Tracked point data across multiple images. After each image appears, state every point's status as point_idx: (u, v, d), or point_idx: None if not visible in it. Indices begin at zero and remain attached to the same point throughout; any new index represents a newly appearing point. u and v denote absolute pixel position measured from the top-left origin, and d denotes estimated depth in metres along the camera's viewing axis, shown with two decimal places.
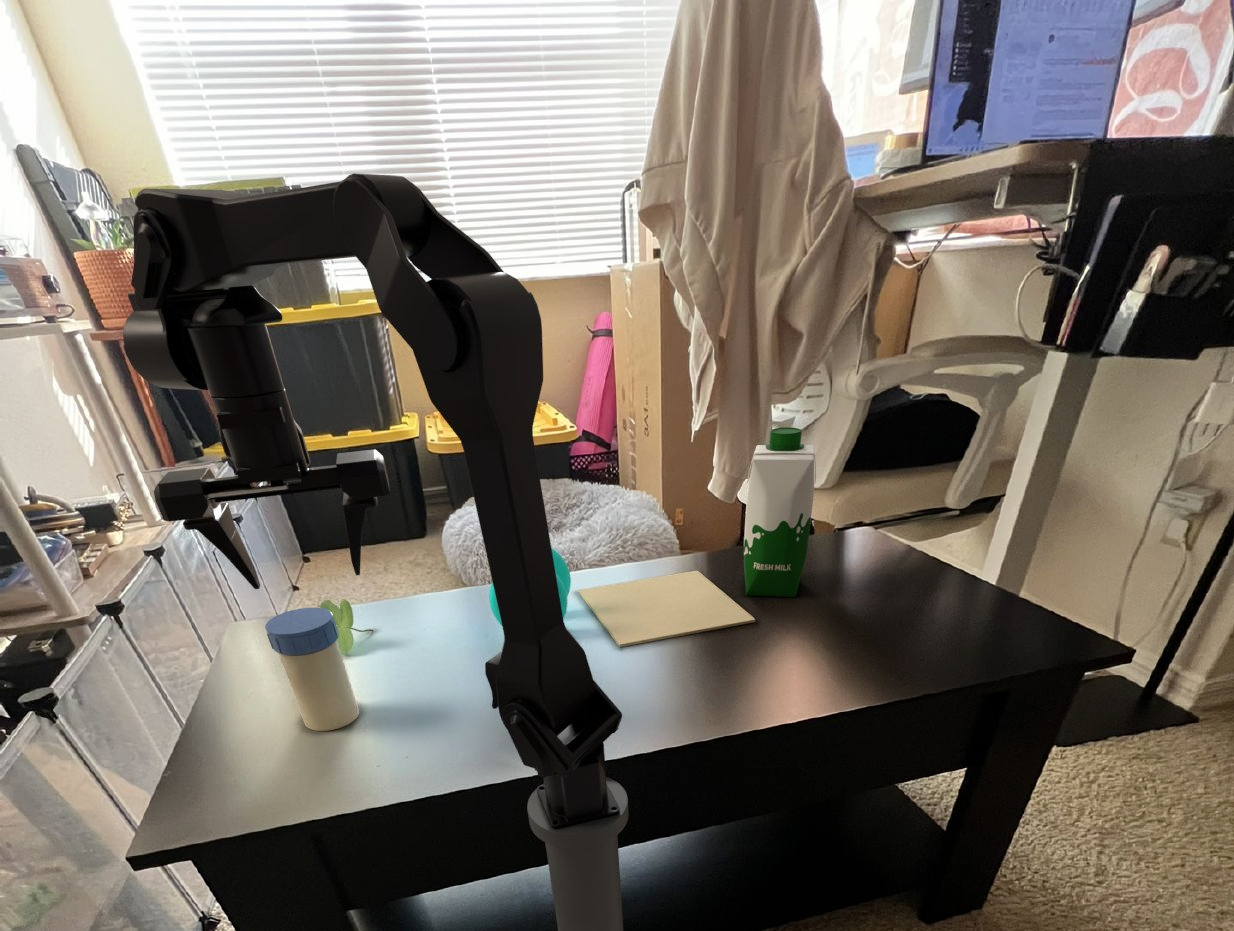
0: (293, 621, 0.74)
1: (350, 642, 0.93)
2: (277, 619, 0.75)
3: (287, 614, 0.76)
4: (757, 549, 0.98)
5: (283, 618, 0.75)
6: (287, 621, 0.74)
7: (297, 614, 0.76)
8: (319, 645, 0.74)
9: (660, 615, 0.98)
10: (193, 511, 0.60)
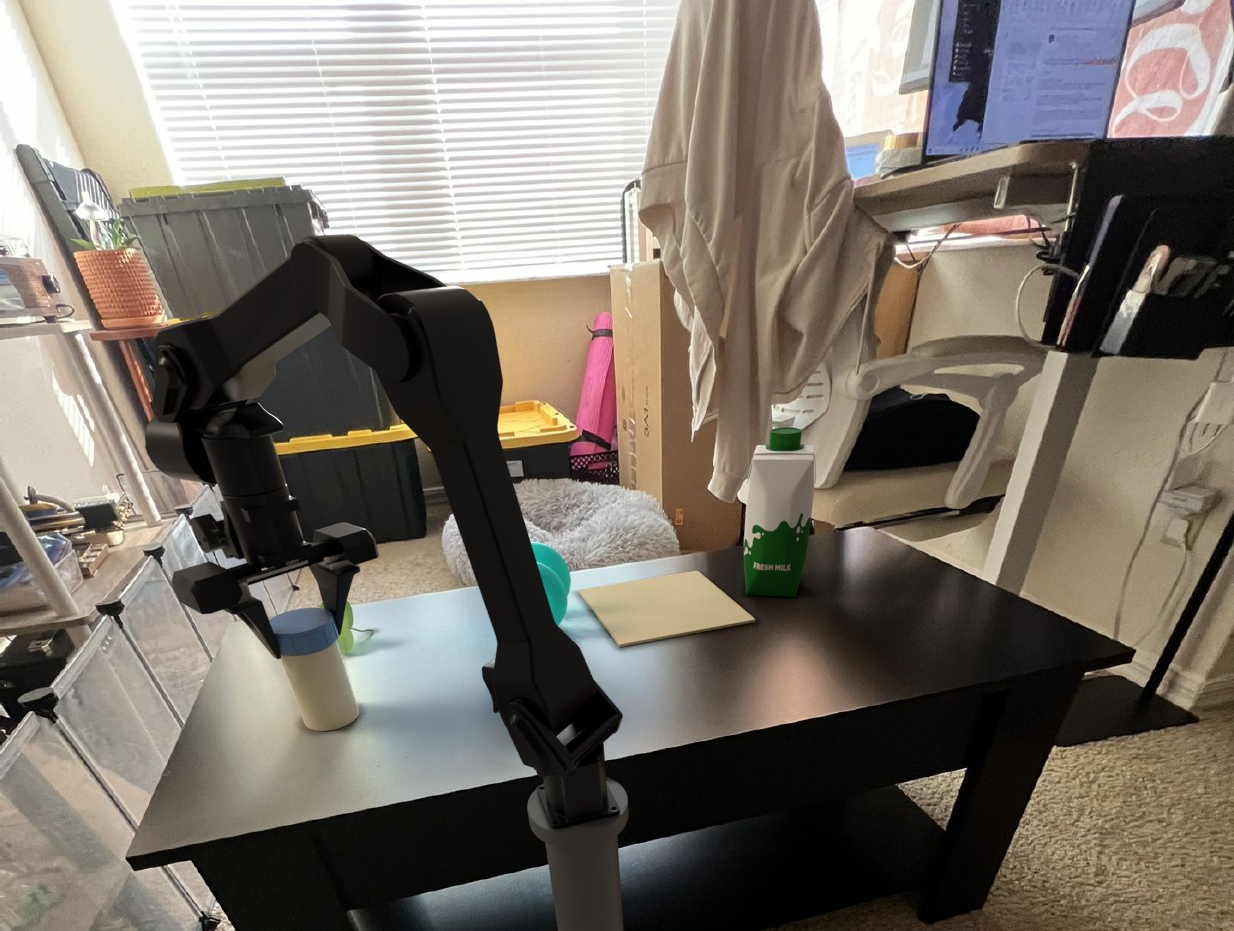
0: (293, 621, 0.74)
1: (350, 642, 0.93)
2: (277, 619, 0.75)
3: (287, 614, 0.76)
4: (757, 549, 0.98)
5: (283, 618, 0.75)
6: (287, 621, 0.74)
7: (297, 614, 0.76)
8: (319, 645, 0.74)
9: (660, 615, 0.98)
10: (230, 600, 0.66)
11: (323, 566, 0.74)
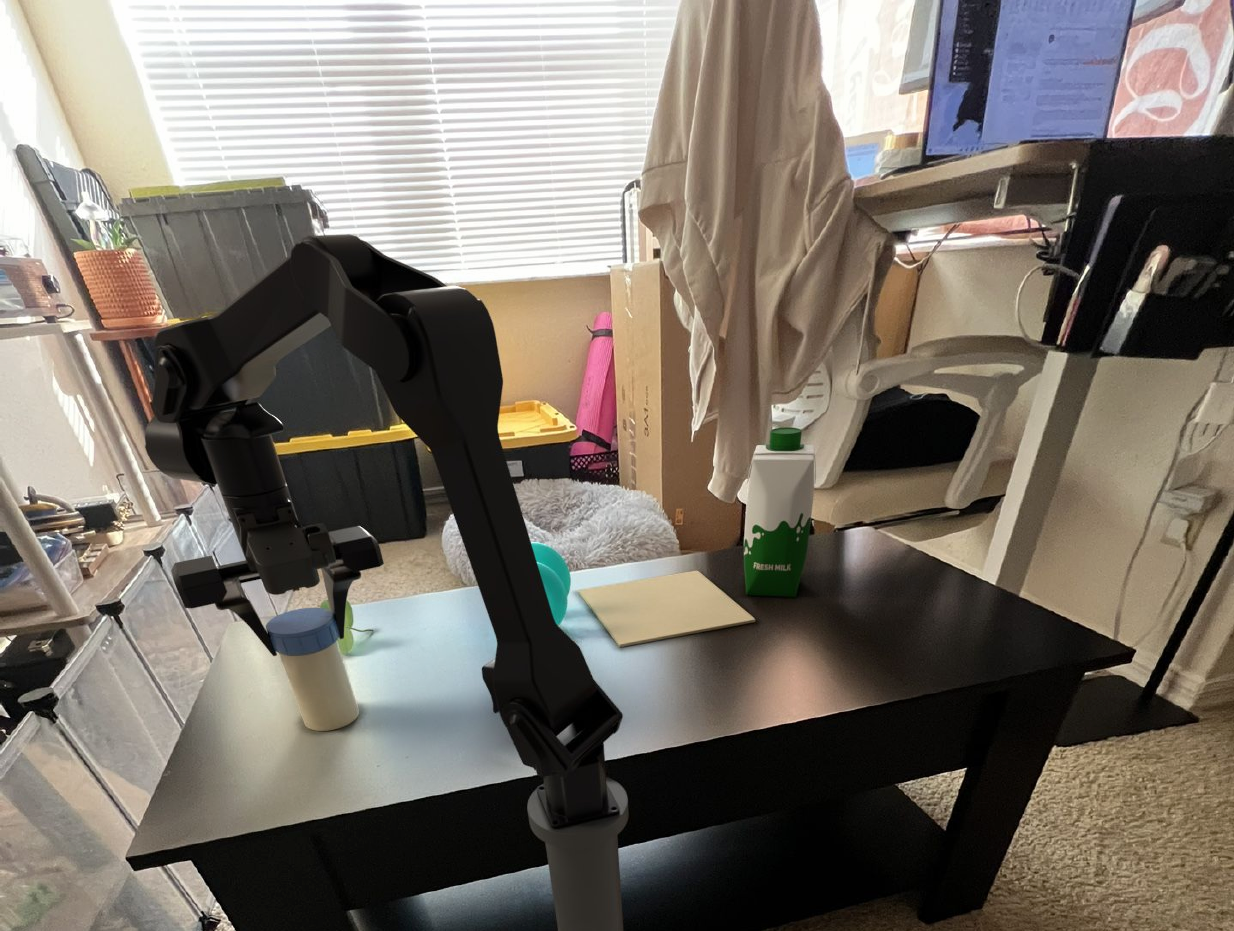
0: (305, 619, 0.74)
1: (350, 642, 0.93)
2: (316, 624, 0.73)
3: (304, 628, 0.73)
4: (757, 549, 0.98)
5: (310, 624, 0.73)
6: (310, 620, 0.74)
7: (295, 627, 0.73)
8: None
9: (660, 615, 0.98)
10: None
11: None
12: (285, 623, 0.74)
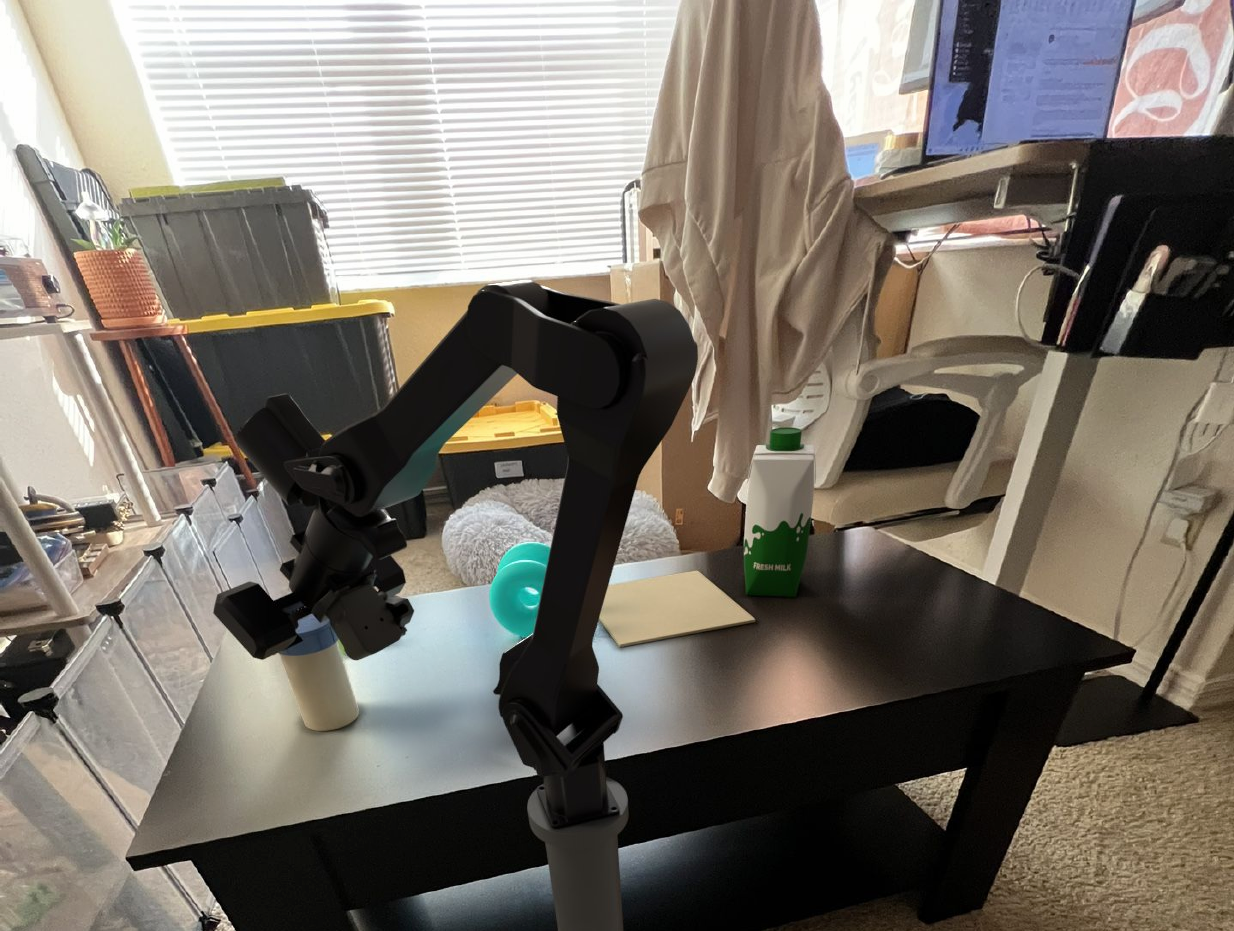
0: (305, 620, 0.74)
1: None
2: (317, 624, 0.73)
3: (305, 629, 0.73)
4: (757, 549, 0.98)
5: (311, 624, 0.73)
6: (310, 621, 0.74)
7: None
8: None
9: (660, 615, 0.98)
10: None
11: None
12: None
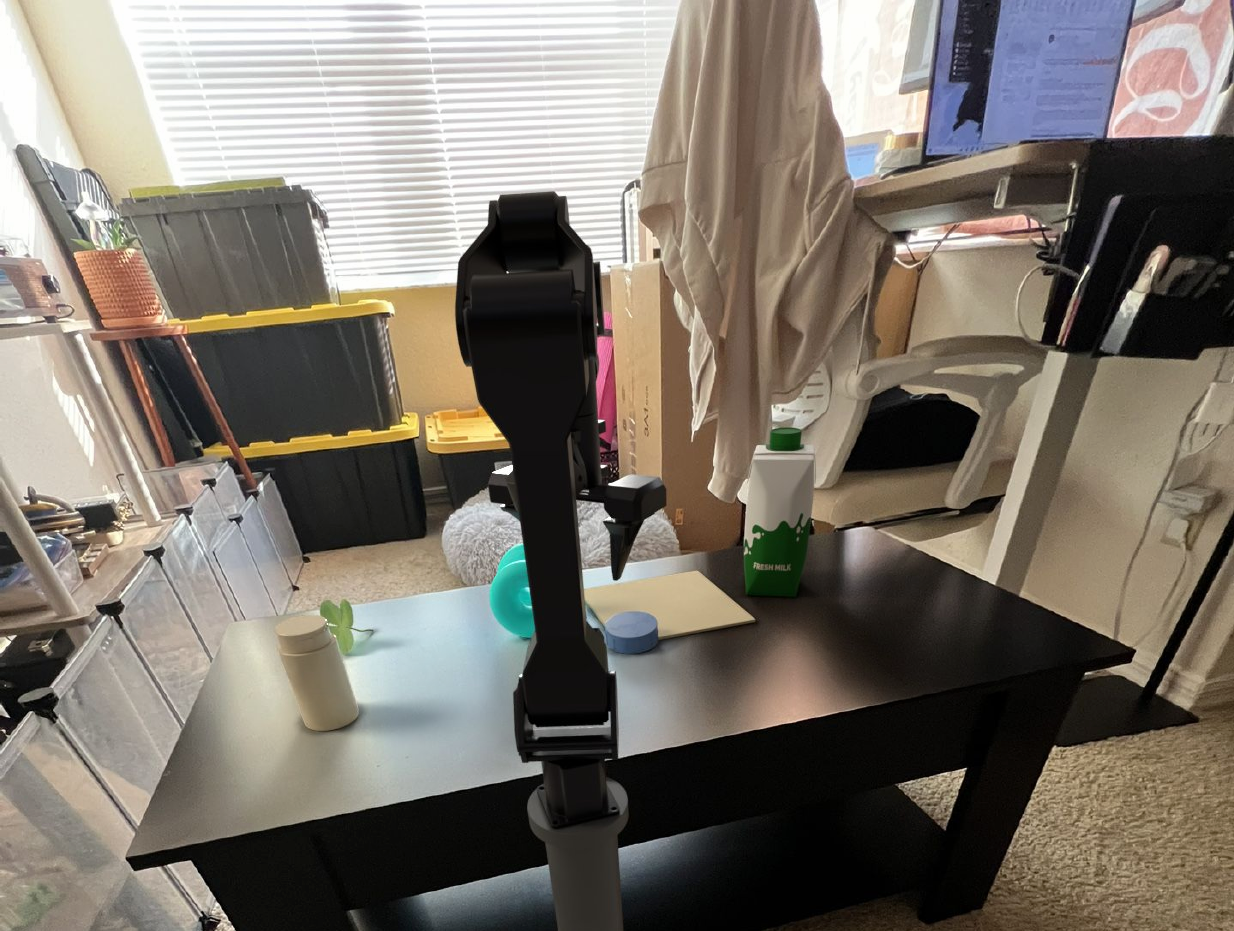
0: (632, 626, 0.91)
1: (350, 642, 0.93)
2: (622, 633, 0.89)
3: (613, 630, 0.90)
4: (757, 549, 0.98)
5: (622, 631, 0.90)
6: (630, 628, 0.90)
7: (617, 625, 0.91)
8: None
9: (660, 615, 0.98)
10: None
11: None
12: (625, 619, 0.92)
